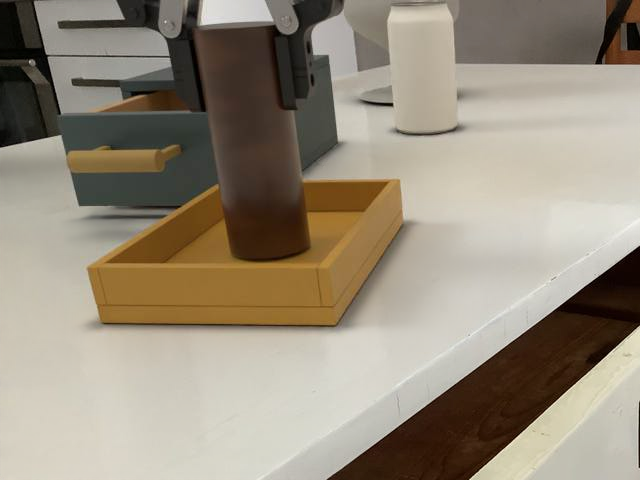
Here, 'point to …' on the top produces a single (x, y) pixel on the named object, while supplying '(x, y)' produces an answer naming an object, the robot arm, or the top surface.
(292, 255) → the tray
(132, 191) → the drawer
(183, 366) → the top surface
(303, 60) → the robot arm
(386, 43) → the chalice
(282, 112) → the brown cylinder
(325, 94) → the cabinet
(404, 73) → the can
